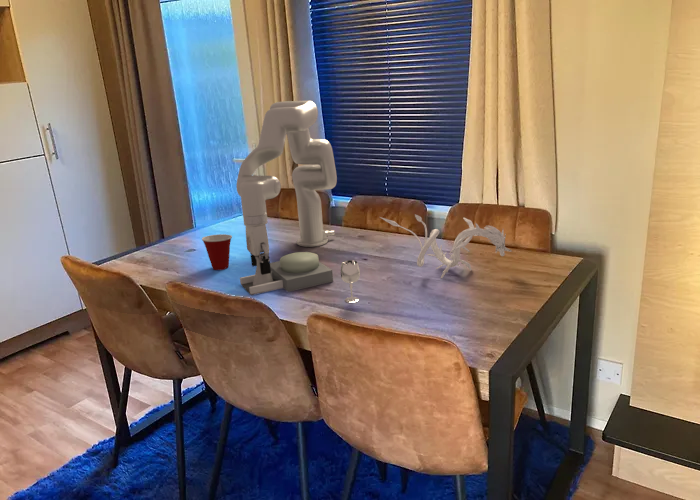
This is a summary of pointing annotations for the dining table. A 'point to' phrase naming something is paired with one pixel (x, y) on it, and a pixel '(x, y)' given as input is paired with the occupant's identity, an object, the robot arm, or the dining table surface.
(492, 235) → the white dragon statue
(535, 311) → the dining table surface
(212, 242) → the plastic cup
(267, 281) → the flask
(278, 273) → the two-pronged domed base
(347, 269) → the wineglass
